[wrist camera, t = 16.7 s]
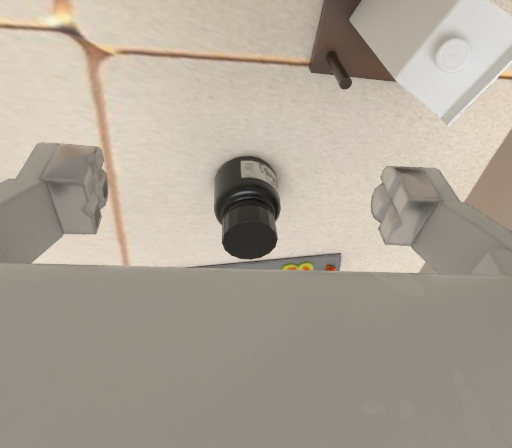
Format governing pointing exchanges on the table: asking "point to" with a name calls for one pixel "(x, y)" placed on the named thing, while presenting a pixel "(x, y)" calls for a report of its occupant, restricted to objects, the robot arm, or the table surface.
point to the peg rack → (344, 47)
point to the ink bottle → (247, 207)
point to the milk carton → (438, 47)
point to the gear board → (290, 264)
